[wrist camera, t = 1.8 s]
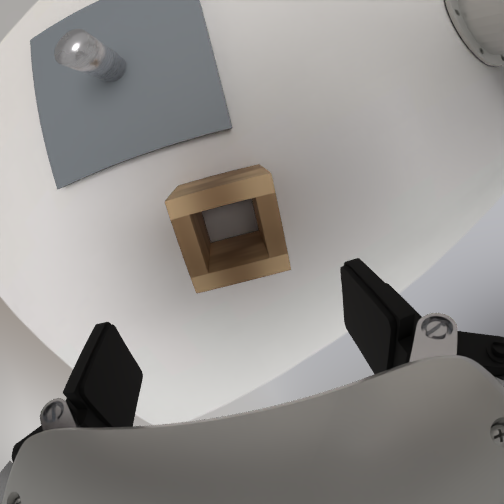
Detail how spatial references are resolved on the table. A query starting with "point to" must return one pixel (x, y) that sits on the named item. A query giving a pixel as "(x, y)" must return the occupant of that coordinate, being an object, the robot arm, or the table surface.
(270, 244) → the oak frame
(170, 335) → the table surface
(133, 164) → the table surface
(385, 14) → the table surface
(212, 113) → the slate board
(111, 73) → the metal post
